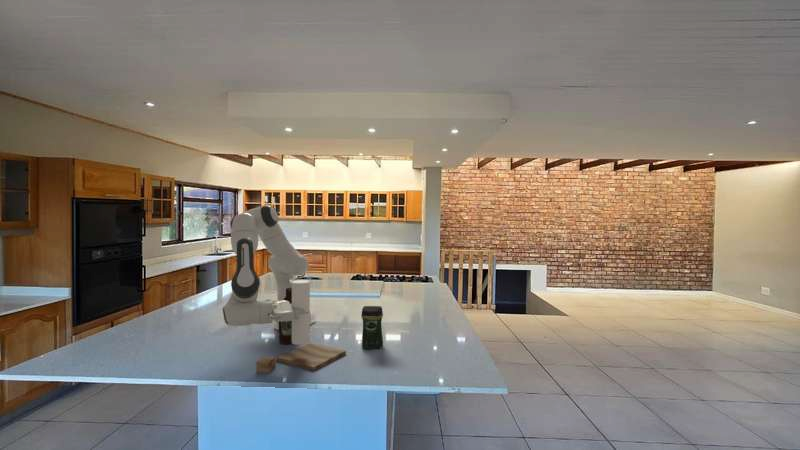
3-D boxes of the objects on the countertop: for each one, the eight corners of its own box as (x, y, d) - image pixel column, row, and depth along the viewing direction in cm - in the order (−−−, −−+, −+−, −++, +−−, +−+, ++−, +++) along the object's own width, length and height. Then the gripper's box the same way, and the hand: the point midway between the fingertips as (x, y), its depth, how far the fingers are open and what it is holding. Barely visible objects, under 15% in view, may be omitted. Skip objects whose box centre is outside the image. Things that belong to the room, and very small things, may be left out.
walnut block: (264, 366, 150) (264, 356, 150) (275, 367, 149) (275, 357, 149) (256, 371, 145) (256, 361, 145) (268, 373, 144) (267, 362, 144)
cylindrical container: (309, 344, 154) (309, 282, 154) (291, 345, 153) (291, 283, 152) (309, 338, 161) (309, 279, 161) (292, 339, 160) (292, 280, 159)
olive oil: (278, 338, 183) (278, 286, 182) (301, 336, 186) (301, 285, 185) (276, 345, 173) (276, 291, 172) (301, 344, 175) (300, 290, 174)
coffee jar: (383, 344, 176) (384, 304, 175) (381, 350, 168) (382, 308, 167) (363, 343, 176) (363, 303, 176) (360, 349, 168) (360, 308, 168)
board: (310, 346, 173) (310, 342, 173) (345, 354, 163) (345, 350, 163) (276, 360, 155) (276, 357, 155) (313, 370, 146) (313, 367, 146)
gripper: (269, 310, 142) (306, 307, 147) (266, 298, 161) (299, 296, 166) (269, 327, 142) (306, 323, 148) (266, 313, 161) (299, 310, 166)
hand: (303, 308), depth 157 cm, fingers closed on cylindrical container, 7 cm apart
